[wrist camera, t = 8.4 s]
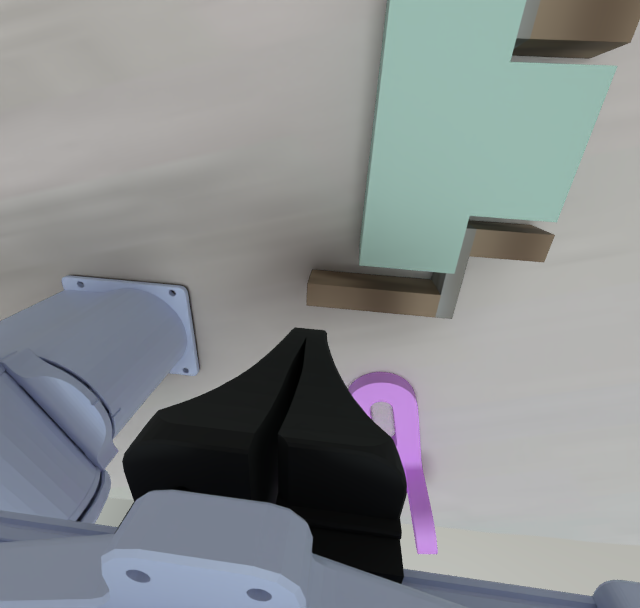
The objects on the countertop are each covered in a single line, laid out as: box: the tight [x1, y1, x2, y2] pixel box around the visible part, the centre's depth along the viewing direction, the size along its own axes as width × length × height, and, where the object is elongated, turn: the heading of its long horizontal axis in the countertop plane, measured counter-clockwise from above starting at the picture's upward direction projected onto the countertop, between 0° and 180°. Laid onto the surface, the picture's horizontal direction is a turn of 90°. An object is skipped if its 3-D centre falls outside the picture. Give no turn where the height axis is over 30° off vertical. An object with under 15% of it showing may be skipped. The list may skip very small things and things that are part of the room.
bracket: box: [348, 372, 438, 554], centre depth 24 cm, size 13×6×7 cm, turn 10°
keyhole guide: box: [307, 0, 640, 319], centre depth 16 cm, size 13×19×2 cm
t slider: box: [359, 0, 617, 274], centre depth 16 cm, size 9×12×4 cm
